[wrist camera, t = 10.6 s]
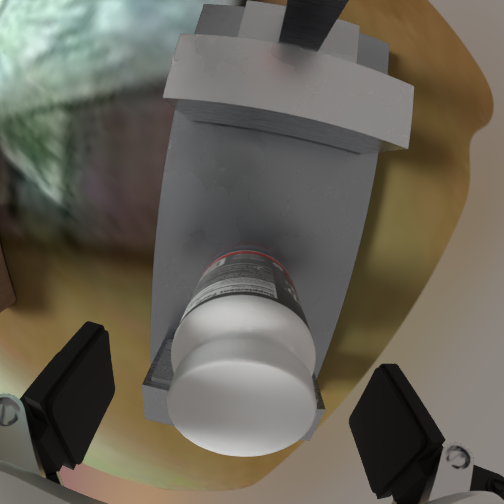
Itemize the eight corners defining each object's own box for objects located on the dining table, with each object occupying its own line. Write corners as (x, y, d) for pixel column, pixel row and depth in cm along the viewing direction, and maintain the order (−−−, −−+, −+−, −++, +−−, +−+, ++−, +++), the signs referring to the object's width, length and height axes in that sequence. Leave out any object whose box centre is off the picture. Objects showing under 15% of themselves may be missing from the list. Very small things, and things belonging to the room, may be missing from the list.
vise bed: (206, 12, 14) (190, -42, 8) (382, 50, 14) (426, 13, 8) (155, 368, 20) (130, 424, 14) (305, 390, 21) (319, 449, 15)
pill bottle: (294, 330, 18) (326, 457, 8) (206, 336, 18) (175, 463, 8) (291, 243, 16) (340, 335, 7) (192, 251, 17) (125, 348, 7)
